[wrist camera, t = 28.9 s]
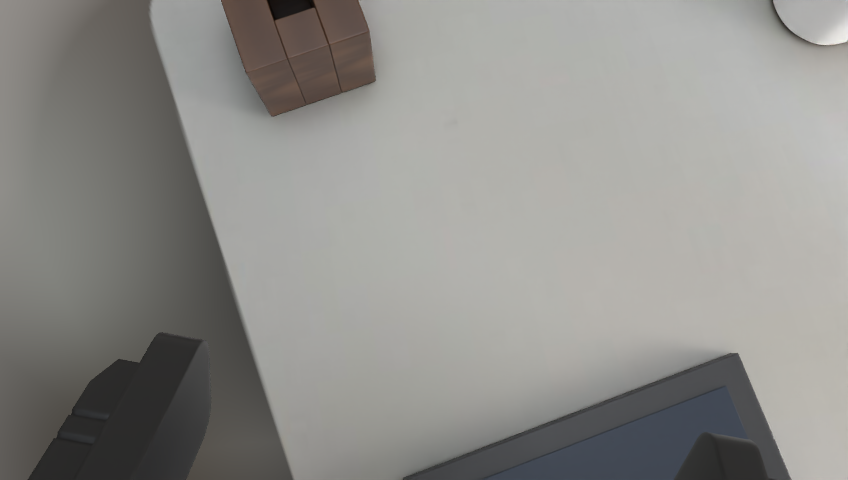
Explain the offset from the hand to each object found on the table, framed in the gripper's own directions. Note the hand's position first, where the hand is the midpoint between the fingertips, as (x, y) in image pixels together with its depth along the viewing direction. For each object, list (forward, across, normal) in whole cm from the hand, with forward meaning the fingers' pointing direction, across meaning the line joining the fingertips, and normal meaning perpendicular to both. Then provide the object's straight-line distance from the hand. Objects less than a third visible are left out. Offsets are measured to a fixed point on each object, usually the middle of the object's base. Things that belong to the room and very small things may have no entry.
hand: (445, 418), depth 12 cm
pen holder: (+34, +10, +9) cm, 36 cm away
